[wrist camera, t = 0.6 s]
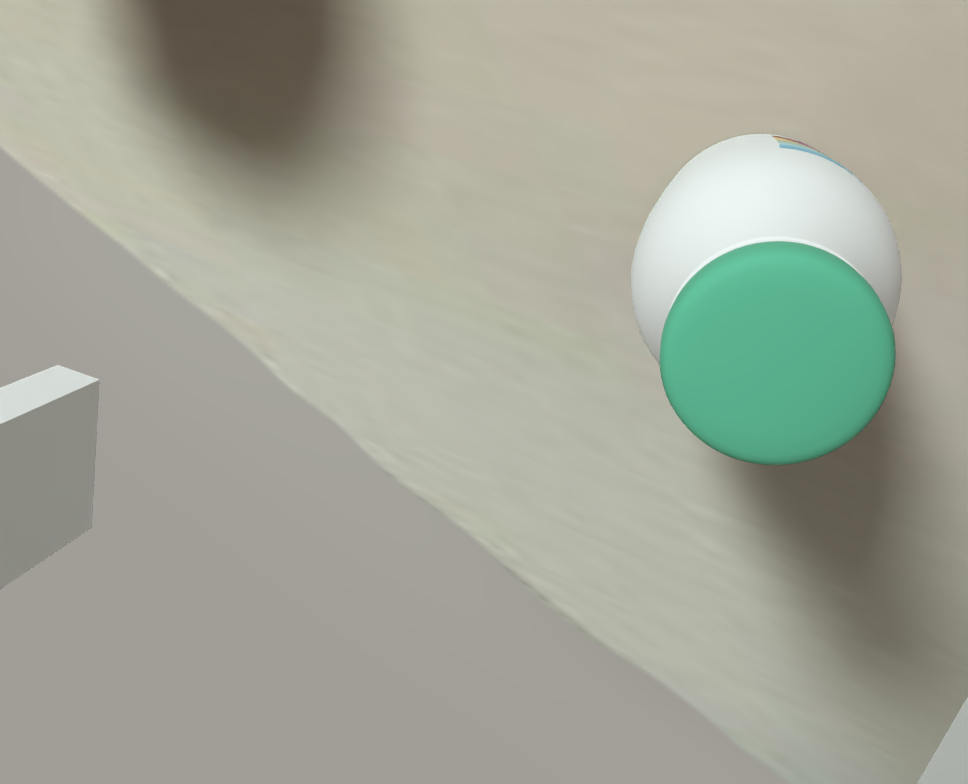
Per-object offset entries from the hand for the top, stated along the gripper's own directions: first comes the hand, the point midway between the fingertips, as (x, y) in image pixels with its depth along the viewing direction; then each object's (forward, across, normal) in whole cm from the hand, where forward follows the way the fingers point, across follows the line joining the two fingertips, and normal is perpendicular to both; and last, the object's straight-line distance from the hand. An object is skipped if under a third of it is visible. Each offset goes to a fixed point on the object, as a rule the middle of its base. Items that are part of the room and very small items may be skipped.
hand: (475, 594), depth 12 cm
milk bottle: (+27, +4, +2) cm, 27 cm away
